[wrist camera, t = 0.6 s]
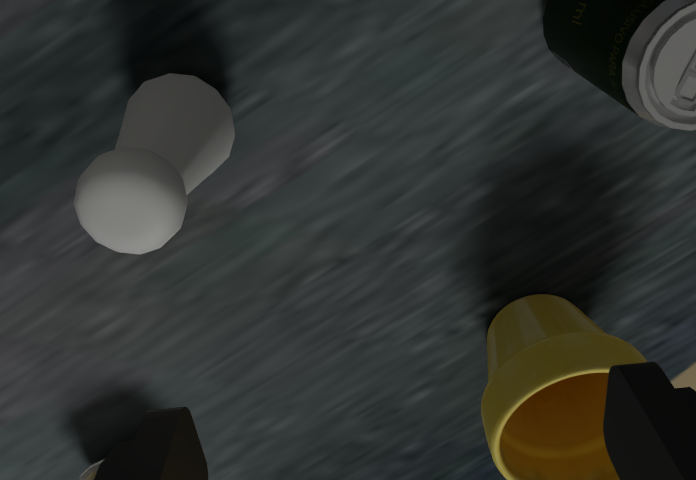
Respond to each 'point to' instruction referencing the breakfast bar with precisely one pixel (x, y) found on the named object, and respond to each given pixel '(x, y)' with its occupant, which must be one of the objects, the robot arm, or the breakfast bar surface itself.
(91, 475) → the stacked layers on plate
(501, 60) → the breakfast bar surface
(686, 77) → the beer can
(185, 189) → the salt shaker
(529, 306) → the plant pot
